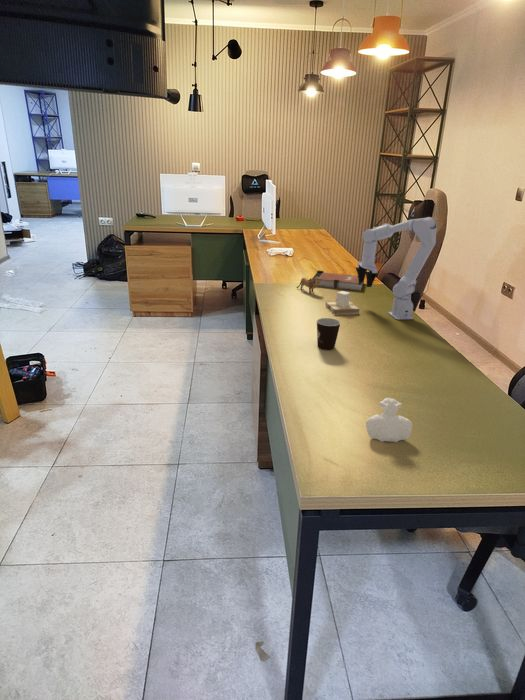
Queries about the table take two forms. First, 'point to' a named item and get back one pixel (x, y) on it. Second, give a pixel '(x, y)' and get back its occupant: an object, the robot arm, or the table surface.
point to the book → (339, 281)
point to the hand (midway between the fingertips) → (365, 284)
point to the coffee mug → (327, 333)
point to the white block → (342, 299)
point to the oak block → (342, 308)
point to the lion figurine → (310, 283)
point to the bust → (389, 423)
